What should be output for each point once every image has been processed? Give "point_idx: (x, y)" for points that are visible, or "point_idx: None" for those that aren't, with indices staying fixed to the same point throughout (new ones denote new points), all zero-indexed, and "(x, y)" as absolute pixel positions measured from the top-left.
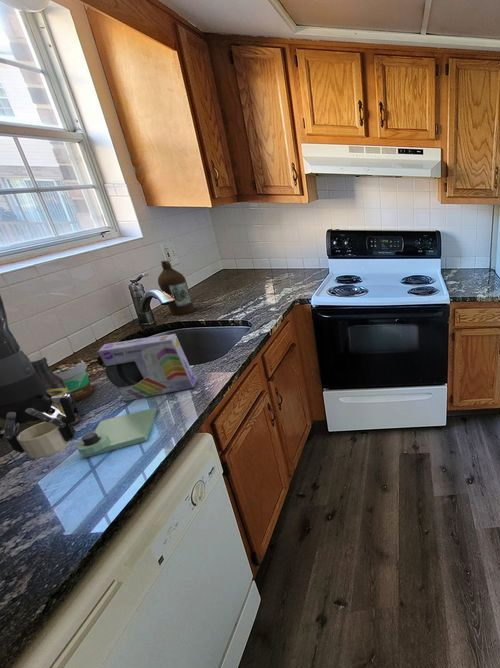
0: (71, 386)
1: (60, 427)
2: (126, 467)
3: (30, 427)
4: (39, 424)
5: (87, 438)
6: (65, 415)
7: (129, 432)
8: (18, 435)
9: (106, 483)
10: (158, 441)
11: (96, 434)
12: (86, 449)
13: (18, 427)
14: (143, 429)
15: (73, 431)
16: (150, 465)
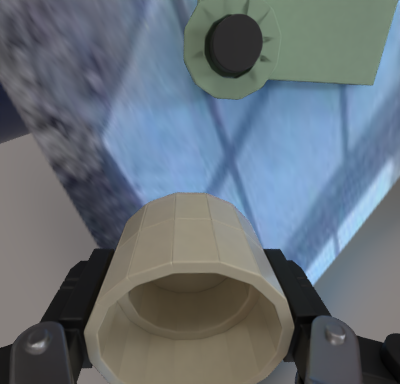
0: None
1: (292, 355)
2: (304, 197)
3: (118, 293)
4: (160, 274)
5: (235, 67)
6: (359, 364)
7: (334, 11)
8: (91, 352)
9: (266, 234)
10: (388, 111)
11: (262, 43)
12: (221, 98)
13: (70, 365)
14: (380, 22)
15: (298, 279)
16: (351, 218)
